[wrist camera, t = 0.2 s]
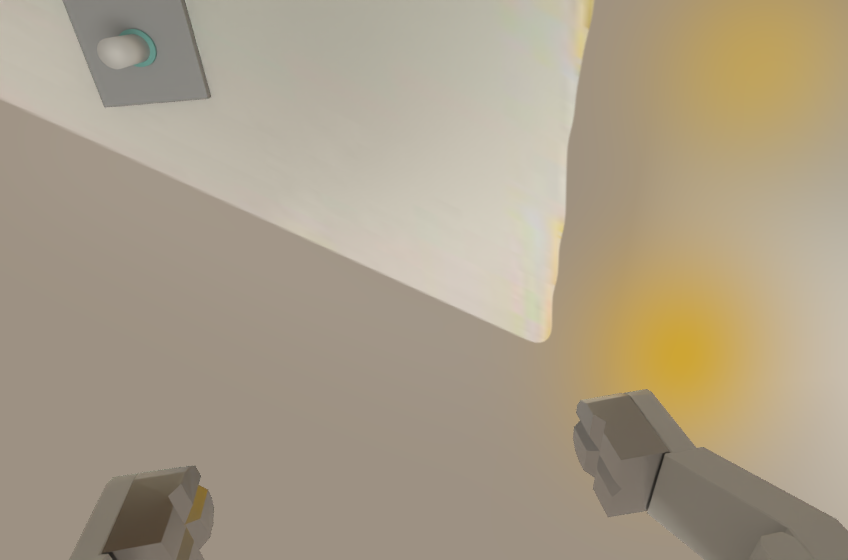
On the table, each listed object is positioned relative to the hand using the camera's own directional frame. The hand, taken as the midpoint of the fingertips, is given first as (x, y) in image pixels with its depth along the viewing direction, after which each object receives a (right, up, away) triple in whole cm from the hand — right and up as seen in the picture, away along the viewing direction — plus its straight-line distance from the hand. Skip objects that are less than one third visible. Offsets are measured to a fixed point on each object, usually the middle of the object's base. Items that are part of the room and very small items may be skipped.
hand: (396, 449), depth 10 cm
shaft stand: (-27, +26, +36) cm, 52 cm away
